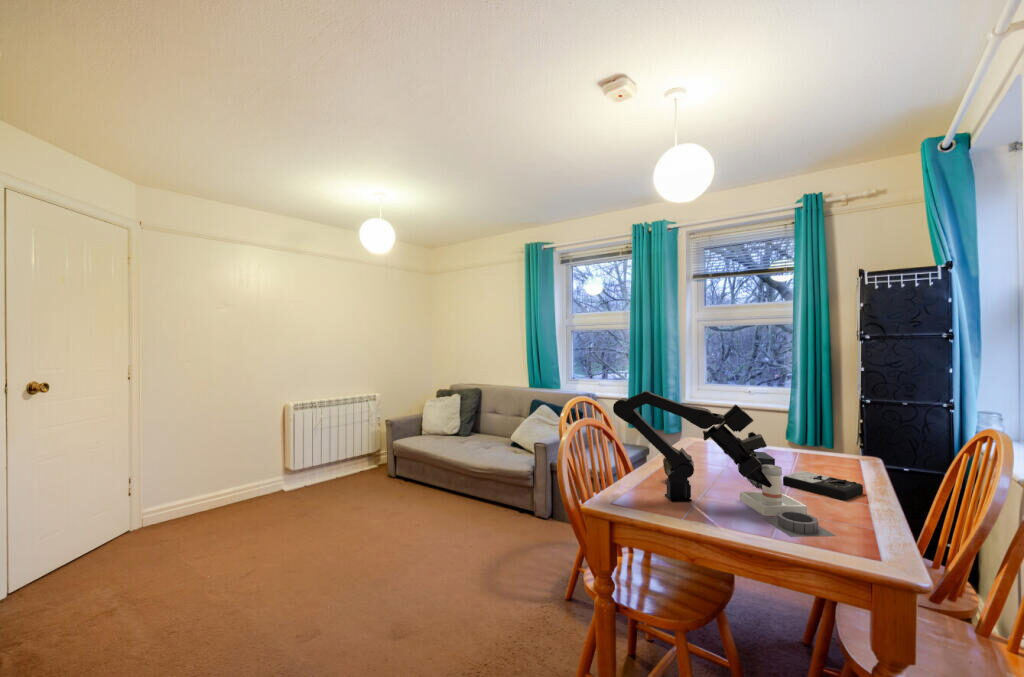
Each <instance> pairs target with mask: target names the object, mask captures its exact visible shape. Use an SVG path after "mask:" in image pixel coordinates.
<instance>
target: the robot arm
mask: <svg viewBox="0 0 1024 677" xmlns="http://www.w3.org/2000/svg"><path fill="white" fill-rule="evenodd" d="M645 405H649V406H652V407H654V408H657V409H660V410H662V411H665V412H668V413H670V414H673V415H676V416H678V417H681V418H683V419H685V420H686V421H687V422H689V423H691V424H692V425H694V426H696V427H698V428H699V429H703V431H702V433H703V441H705V442H706V441H707V440H708V439H712V441H714V442H713V443H715V444H716V445H717V446H718V447H719V448H720V449H721V450H722V451H723V453H724V454H725V455H727V456H728V457H729V458H730V460H732V461H733V463H734V464H735V465H736V466H737V470H738V473H739V474H740V475H741V476H742V477H743V478H746V479H747V478H749V479H751V480H753V481H756V482H758V483H760V484H762V485H764V486H766V487H769V488H770V487H771V486H772V484H771V483H770V482H769V480H768V479H767V477H766V476H765V475H764V473H763V472H762V468H761V466H762V464H761V462H760V461H759V460H758V459H757V458H756V453H755V452H754V451H755V450H759V449H765V448H767V446H768V445H767V443H766V441H765V439H764V437H763V435H762V434H761V433H757V434H756V433H755V432H754V431H751V432H748V433H747V437H746V438H743V439H741V438H740V437H738V436H736V435H734V433H735V432H737V433H740V432H742V431H743V430H744V429H746V428H747V427H748V426H749V425H751V423H753V422H754V421H755V420H754V419H753V418H752V417H751V415H749V414H748V413H747V412H746V411H745V410H743V409H742V408H741V407H739V405H738V404H734V405H733V406H731V408H730V409H729V410H728V411H727V412H725V413H724V414H721V413H715V412H712V411H711V410H709V409H708V408H704V407H699V406H695V405H687V404H683V403H681V402H678V401H676V400H672V399H669V398H667V397H664V396H662V395H659V394H656V393H653V392H651V391H650V390H644V391H642V392H641V393H638V394H636V395H633V396H631V397H629V398H626V397H621V398H619V399H618V400H616V401H615V402H614V404H613V406H612V410H613V413H614V415H615V416H617V417H618V418H620V419H621V420H622V421H624V422H626V423H628V424H629V425H631V426H632V427H633V428H635V430H637V432H639V434H641V435H642V436H643V437H644V438H645V439H646V440H647V441H648V442H649V443H650V445H651V444H652V446H653V447H654V448H655V449H656V450H657V451H658V452H659V453H660V454H662V456H663V457H664V458H666V459H667V461H668V462H669V464H670V466H671V468H670V469H669V472H668V476H667V478H666V493H664V496H665V497H666V498H667V499H668V500H670V502H672V503H686V502H687V503H691V502H693V500H692V498H691V497H692V486H691V484H690V480H689V478H691V477H692V476H693V475H694V472H695V464H694V460H693V458H692V457H693V456H692V455H690V454H688V453H687V451H685V448H684V447H680V449H677V448H676V447H674V446H673V445H672V444H671V443H669V441H668V440H666V439H665V438H664V437H663V436H662V435H661V434H660V433H659V432H658V431H657V430H656V429H655V428H654V427H653V426H652V425H650V423H649V422H648V421H646V419H645V418H643V417H642V415H641V414H640V412H639V410H638V408H640V407H642V406H645ZM725 425H726V426H725ZM707 429H708V430H707ZM752 452H753V454H752Z"/></svg>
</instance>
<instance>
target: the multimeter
mask: <svg viewBox="0 0 1024 677" xmlns="http://www.w3.org/2000/svg"><path fill="white" fill-rule="evenodd" d="M782 485H783V486H786V487H789V488H793V489H797V490H800V491H803V492H807V493H808V492H809V493H811V494H816V495H819V496H824V497H827V498H830V499H835V500H839V501H842V502H847V501H850V500H852V499H855V498H857V497H860V496H862V495H863V494H864V486H863V484H861V483H859V482H856V481H849V480H847V479H841V478H836V477H833V476H832V477H831V476H828V475H823V474H818V473H814V472H810V471H805V470H800V471H796V472H793V473H789V474H787V475H784V476H783V477H782Z"/></svg>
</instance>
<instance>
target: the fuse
mask: <svg viewBox="0 0 1024 677" xmlns="http://www.w3.org/2000/svg"><path fill="white" fill-rule="evenodd" d="M762 472H763V473H764V475H765V476H766V477H767V479H768V480H769V482H770V483H771V484H772V486H771V487H770V488H769V487H766V486H764V485H762V489H761V492H762V504H763V505H765V506H779V505H782V493H783V492H782V489H783V488H782V476H783V468H782V466H779V465H776V464H775V465H762Z"/></svg>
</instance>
